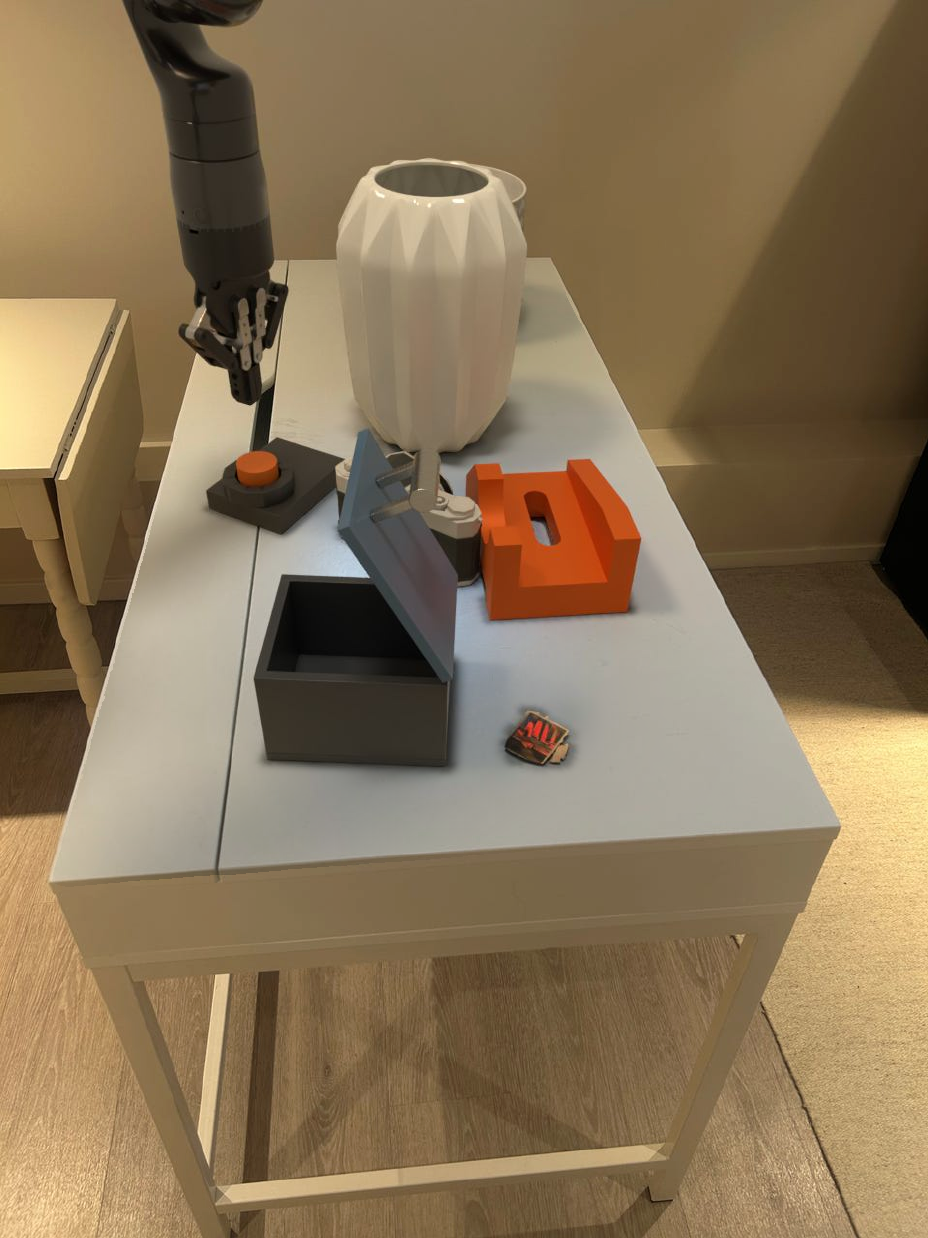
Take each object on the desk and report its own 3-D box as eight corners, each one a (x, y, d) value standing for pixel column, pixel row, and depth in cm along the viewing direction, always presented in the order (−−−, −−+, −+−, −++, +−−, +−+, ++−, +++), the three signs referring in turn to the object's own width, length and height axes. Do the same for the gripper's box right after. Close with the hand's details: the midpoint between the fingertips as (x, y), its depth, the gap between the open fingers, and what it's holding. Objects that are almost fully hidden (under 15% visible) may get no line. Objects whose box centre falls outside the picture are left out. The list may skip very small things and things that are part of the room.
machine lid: (337, 530, 57) (416, 499, 55) (358, 431, 65) (426, 402, 64) (442, 683, 65) (513, 660, 64) (449, 577, 74) (511, 555, 72)
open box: (266, 759, 71) (253, 678, 65) (291, 654, 80) (281, 573, 74) (445, 766, 71) (447, 686, 65) (451, 660, 80) (453, 580, 74)
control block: (278, 537, 92) (274, 503, 89) (205, 510, 95) (199, 477, 92) (347, 476, 101) (345, 444, 98) (278, 454, 103) (275, 421, 101)
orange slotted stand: (627, 611, 85) (641, 538, 80) (489, 620, 84) (494, 545, 78) (584, 499, 99) (594, 429, 93) (465, 505, 97) (467, 434, 92)
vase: (369, 487, 99) (356, 220, 81) (329, 400, 113) (311, 155, 95) (539, 460, 104) (564, 202, 86) (481, 379, 118) (492, 143, 99)
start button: (262, 492, 92) (260, 476, 90) (229, 480, 93) (227, 465, 92) (286, 472, 94) (285, 457, 93) (254, 461, 96) (252, 446, 94)
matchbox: (501, 754, 72) (501, 750, 72) (520, 708, 76) (521, 704, 75) (559, 771, 71) (560, 767, 71) (576, 724, 75) (577, 720, 74)
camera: (510, 550, 92) (517, 462, 85) (463, 597, 86) (467, 507, 79) (379, 497, 98) (376, 411, 91) (327, 537, 92) (319, 450, 86)
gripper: (236, 179, 82) (258, 363, 94) (130, 223, 73) (169, 420, 85) (307, 194, 80) (321, 381, 91) (206, 242, 71) (236, 442, 82)
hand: (248, 400), depth 88 cm, fingers closed
